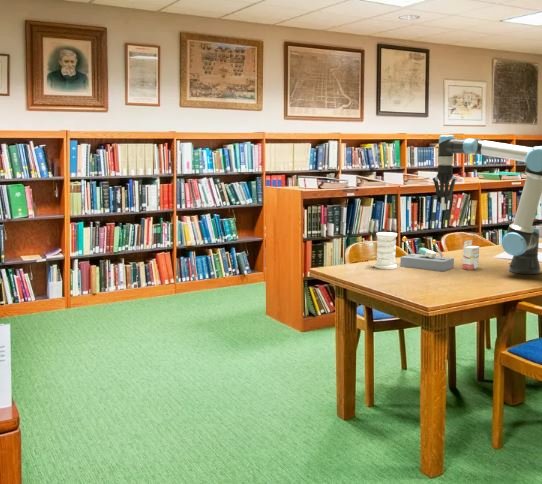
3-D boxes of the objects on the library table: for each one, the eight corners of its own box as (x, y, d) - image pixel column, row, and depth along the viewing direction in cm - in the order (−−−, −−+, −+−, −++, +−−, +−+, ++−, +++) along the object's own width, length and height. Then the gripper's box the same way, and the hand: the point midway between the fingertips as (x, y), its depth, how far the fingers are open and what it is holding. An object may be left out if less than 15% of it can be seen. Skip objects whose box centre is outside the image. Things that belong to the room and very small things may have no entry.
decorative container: (401, 267, 340) (402, 234, 337) (384, 269, 334) (385, 235, 332) (386, 264, 350) (387, 231, 347) (370, 266, 344) (371, 233, 341)
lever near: (445, 254, 337) (435, 238, 339) (443, 255, 335) (433, 238, 337) (441, 257, 339) (431, 240, 341) (439, 257, 337) (429, 241, 339)
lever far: (415, 251, 347) (406, 235, 349) (413, 252, 345) (404, 236, 347) (411, 253, 349) (402, 237, 351) (409, 254, 347) (400, 238, 349)
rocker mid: (435, 256, 342) (436, 252, 341) (431, 258, 338) (432, 254, 337) (422, 251, 346) (423, 247, 345) (418, 252, 342) (419, 248, 342)
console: (453, 267, 341) (454, 256, 340) (443, 271, 330) (443, 260, 329) (411, 262, 356) (412, 251, 355) (400, 266, 345) (400, 255, 344)
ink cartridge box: (470, 270, 334) (472, 242, 332) (462, 269, 337) (463, 241, 335) (478, 268, 340) (480, 240, 338) (470, 266, 343) (471, 239, 341)
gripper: (460, 164, 336) (458, 209, 340) (436, 164, 344) (434, 208, 348) (454, 165, 330) (452, 211, 334) (430, 164, 338) (428, 209, 342)
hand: (443, 209), depth 341 cm, fingers closed
